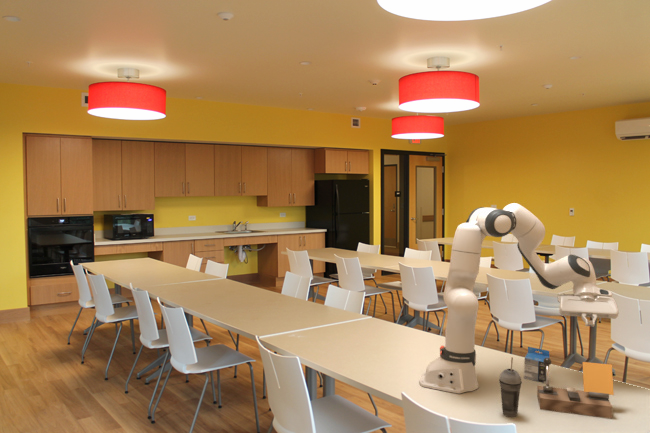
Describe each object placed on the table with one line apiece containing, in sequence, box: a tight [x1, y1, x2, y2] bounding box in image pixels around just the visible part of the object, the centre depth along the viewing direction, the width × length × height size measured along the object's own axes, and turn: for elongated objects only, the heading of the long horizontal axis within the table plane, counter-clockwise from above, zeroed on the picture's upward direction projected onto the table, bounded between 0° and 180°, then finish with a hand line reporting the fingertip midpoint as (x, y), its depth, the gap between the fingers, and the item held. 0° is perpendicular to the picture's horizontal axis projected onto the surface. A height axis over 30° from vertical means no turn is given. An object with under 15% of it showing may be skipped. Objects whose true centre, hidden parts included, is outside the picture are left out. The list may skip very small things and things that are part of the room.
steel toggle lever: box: [542, 358, 553, 392], centre depth 177 cm, size 3×3×12 cm
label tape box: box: [523, 346, 551, 384], centre depth 199 cm, size 9×4×12 cm, turn 46°
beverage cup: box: [498, 356, 523, 419], centre depth 166 cm, size 7×7×20 cm
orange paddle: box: [582, 361, 615, 400], centre depth 172 cm, size 9×2×11 cm, turn 71°
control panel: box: [536, 385, 613, 419], centre depth 173 cm, size 22×12×5 cm, turn 71°
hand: (590, 325), depth 186 cm, fingers closed
